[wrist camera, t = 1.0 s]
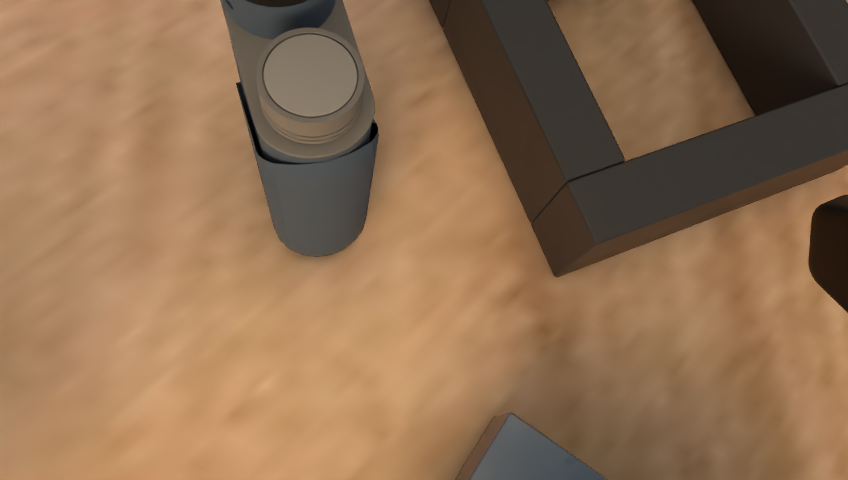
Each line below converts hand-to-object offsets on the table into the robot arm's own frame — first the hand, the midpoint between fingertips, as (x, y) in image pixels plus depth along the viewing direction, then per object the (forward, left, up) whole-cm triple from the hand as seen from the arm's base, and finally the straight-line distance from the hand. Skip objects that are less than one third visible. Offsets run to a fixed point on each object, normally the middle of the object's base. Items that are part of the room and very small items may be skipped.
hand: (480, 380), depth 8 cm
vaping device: (+4, -6, -13) cm, 15 cm away
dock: (-5, -13, -12) cm, 19 cm away
